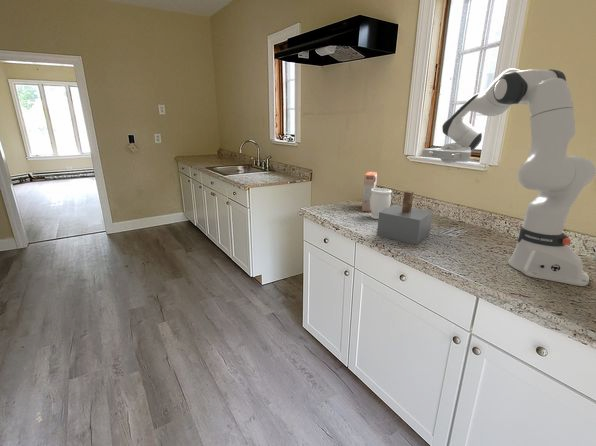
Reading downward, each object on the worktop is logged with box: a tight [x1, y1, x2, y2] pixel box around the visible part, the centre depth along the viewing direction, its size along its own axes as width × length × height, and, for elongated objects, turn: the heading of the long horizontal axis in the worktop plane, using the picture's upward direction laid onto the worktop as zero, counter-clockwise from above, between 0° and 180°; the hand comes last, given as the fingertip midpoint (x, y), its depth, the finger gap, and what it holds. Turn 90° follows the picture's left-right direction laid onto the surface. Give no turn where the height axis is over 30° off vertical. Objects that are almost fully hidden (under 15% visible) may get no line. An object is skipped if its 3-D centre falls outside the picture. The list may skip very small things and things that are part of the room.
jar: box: [370, 187, 393, 220], centre depth 167 cm, size 11×10×15 cm
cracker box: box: [361, 171, 378, 213], centre depth 182 cm, size 14×6×21 cm, turn 161°
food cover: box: [376, 190, 434, 246], centre depth 141 cm, size 18×18×20 cm
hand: (441, 155), depth 139 cm, fingers open, 8 cm apart
